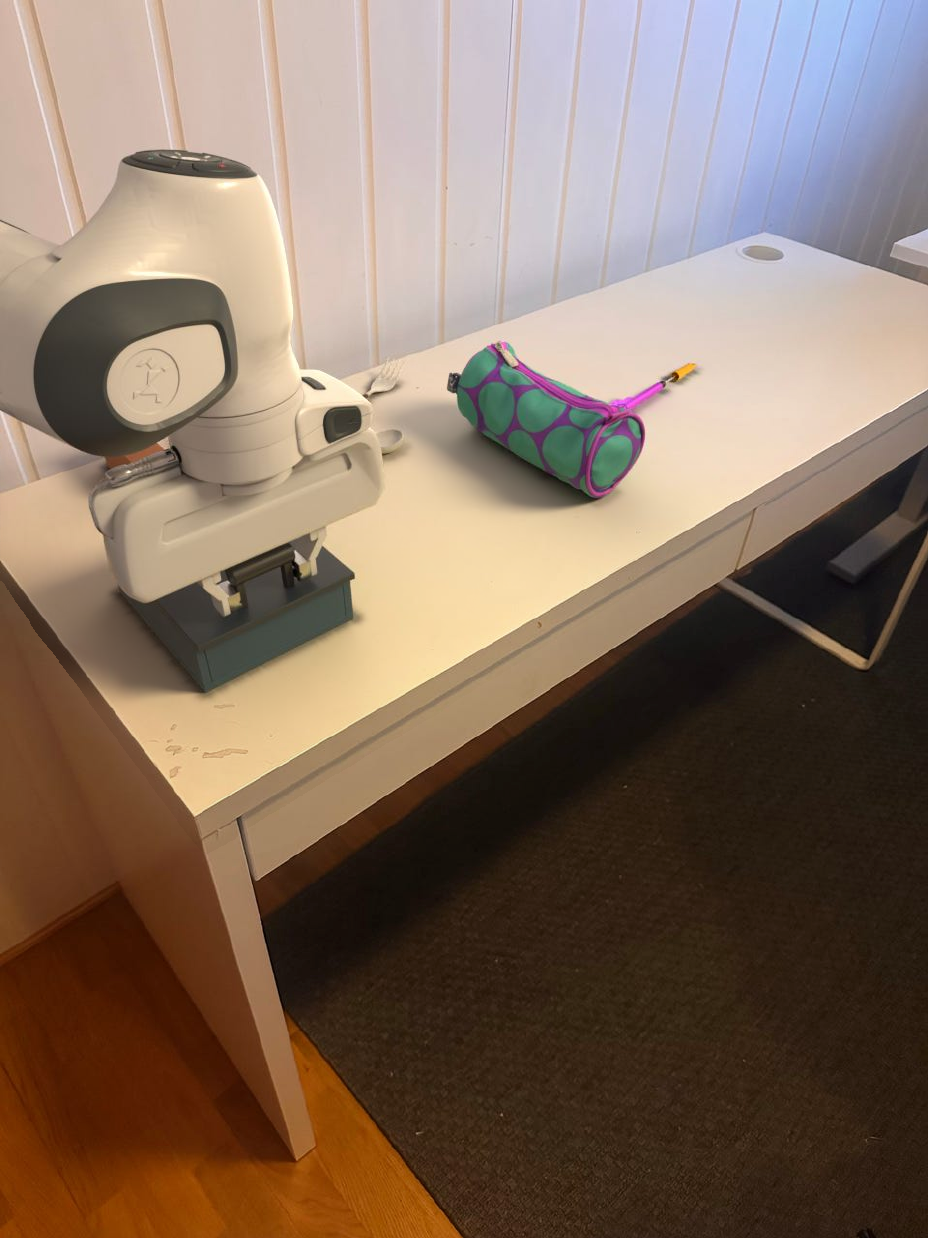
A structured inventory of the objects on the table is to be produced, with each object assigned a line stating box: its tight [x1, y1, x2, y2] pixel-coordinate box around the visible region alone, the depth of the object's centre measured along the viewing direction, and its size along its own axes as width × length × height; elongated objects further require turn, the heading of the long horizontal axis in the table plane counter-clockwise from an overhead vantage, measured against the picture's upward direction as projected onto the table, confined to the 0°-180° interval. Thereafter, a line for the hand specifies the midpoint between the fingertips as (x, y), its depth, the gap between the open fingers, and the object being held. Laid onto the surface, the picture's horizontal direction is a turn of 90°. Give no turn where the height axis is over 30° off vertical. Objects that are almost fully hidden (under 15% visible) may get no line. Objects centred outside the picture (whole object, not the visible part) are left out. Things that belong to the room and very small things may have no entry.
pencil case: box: [446, 340, 646, 499], centre depth 90 cm, size 21×9×10 cm, turn 39°
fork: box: [361, 357, 406, 400], centre depth 100 cm, size 3×16×2 cm, turn 153°
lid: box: [154, 538, 356, 653], centre depth 70 cm, size 16×13×4 cm
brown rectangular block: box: [104, 442, 166, 470], centre depth 88 cm, size 8×4×4 cm, turn 41°
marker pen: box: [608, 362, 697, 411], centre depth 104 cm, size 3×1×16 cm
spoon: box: [376, 428, 405, 455], centre depth 91 cm, size 3×12×2 cm, turn 135°
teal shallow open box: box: [116, 581, 354, 693], centre depth 73 cm, size 15×13×5 cm
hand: (267, 591), depth 67 cm, fingers closed on lid, 5 cm apart
